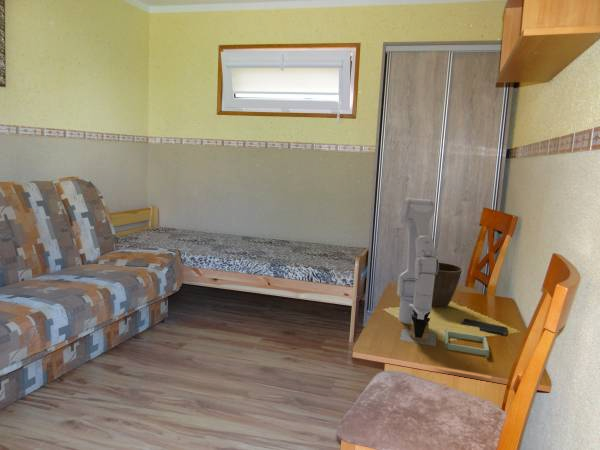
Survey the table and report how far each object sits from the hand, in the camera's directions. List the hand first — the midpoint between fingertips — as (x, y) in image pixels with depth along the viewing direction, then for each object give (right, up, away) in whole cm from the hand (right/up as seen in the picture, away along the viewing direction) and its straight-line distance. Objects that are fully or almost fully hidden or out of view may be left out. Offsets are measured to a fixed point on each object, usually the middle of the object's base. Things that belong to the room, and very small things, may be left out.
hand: (418, 334), depth 159 cm
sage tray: (+14, -3, -3) cm, 15 cm away
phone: (+27, -2, +17) cm, 32 cm away
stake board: (0, -2, 0) cm, 2 cm away
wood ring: (0, -1, 0) cm, 1 cm away
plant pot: (+17, +3, +40) cm, 43 cm away
